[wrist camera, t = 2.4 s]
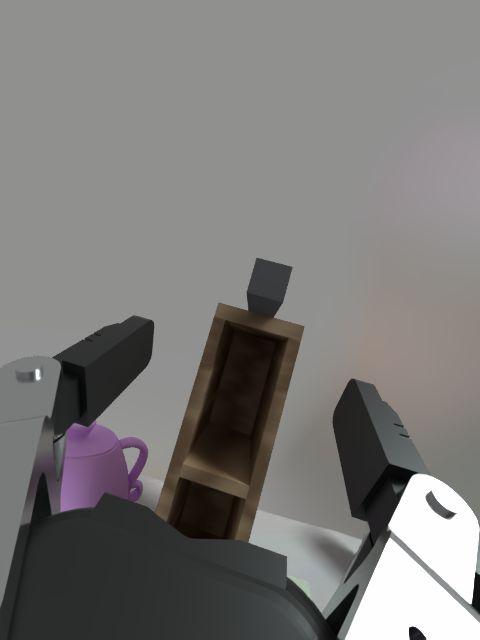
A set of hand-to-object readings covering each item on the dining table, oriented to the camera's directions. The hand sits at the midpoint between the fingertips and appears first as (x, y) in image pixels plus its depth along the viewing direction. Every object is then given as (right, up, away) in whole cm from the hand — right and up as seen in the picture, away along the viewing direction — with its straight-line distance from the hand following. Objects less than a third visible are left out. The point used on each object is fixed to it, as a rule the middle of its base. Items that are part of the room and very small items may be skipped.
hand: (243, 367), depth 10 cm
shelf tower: (-6, -29, +19) cm, 35 cm away
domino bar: (+2, +2, +19) cm, 19 cm away
